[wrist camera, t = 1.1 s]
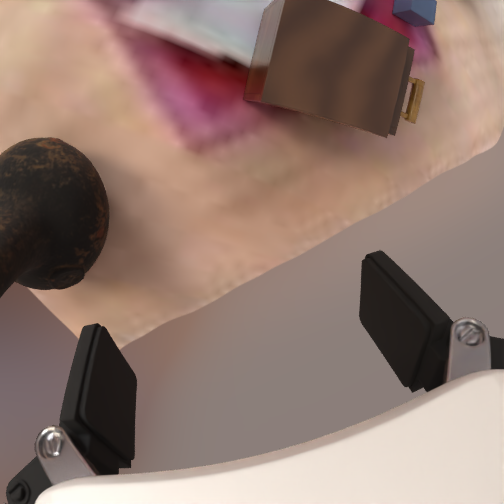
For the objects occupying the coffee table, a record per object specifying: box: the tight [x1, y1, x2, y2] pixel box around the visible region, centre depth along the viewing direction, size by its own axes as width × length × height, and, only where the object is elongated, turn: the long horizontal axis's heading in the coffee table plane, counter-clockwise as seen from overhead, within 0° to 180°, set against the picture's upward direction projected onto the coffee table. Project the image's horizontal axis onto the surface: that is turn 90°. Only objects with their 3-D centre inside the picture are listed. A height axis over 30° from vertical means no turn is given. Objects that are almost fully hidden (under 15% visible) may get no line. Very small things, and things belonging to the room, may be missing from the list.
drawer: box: [388, 46, 425, 136], centre depth 31 cm, size 18×11×8 cm, turn 79°
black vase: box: [0, 137, 109, 297], centre depth 23 cm, size 18×18×28 cm
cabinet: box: [243, 0, 409, 138], centre depth 30 cm, size 15×13×10 cm
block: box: [392, 0, 437, 27], centre depth 28 cm, size 4×4×4 cm
